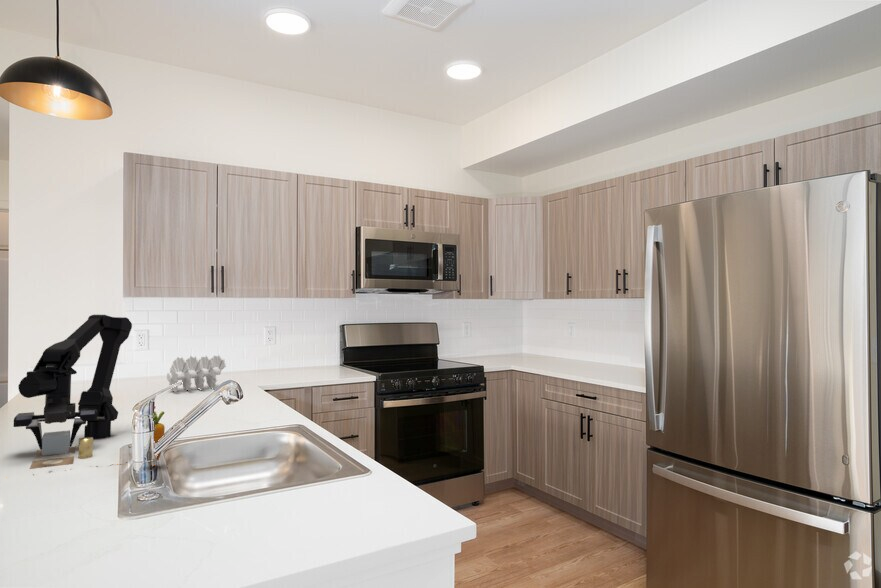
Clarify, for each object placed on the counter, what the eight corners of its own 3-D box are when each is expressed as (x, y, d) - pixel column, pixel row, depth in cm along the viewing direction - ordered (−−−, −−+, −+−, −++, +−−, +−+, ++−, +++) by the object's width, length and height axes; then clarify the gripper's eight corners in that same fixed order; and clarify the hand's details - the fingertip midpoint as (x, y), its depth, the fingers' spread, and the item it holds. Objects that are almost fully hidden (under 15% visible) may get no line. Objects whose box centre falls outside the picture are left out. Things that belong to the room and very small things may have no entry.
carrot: (167, 465, 140) (169, 408, 140) (155, 470, 135) (157, 411, 135) (150, 464, 140) (151, 407, 141) (137, 469, 136) (139, 411, 136)
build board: (74, 459, 143) (74, 455, 143) (73, 467, 137) (73, 463, 137) (32, 464, 138) (32, 460, 138) (29, 472, 132) (29, 468, 132)
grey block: (69, 447, 152) (70, 430, 152) (68, 452, 147) (69, 434, 147) (43, 450, 149) (44, 432, 149) (41, 455, 143) (42, 437, 144)
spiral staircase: (165, 400, 258) (215, 392, 276) (178, 388, 247) (229, 381, 265) (158, 365, 263) (208, 360, 281) (170, 352, 252) (221, 347, 271)
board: (75, 449, 153) (76, 435, 154) (74, 456, 147) (75, 441, 147) (37, 454, 149) (37, 439, 149) (34, 461, 142) (34, 445, 142)
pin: (92, 458, 145) (93, 436, 145) (92, 461, 143) (92, 438, 143) (78, 459, 143) (79, 437, 144) (77, 462, 141) (78, 440, 141)
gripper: (11, 398, 136) (9, 459, 136) (97, 393, 146) (95, 450, 146) (17, 392, 146) (15, 449, 145) (97, 388, 156) (96, 441, 155)
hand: (56, 447), depth 148 cm, fingers open, 6 cm apart
